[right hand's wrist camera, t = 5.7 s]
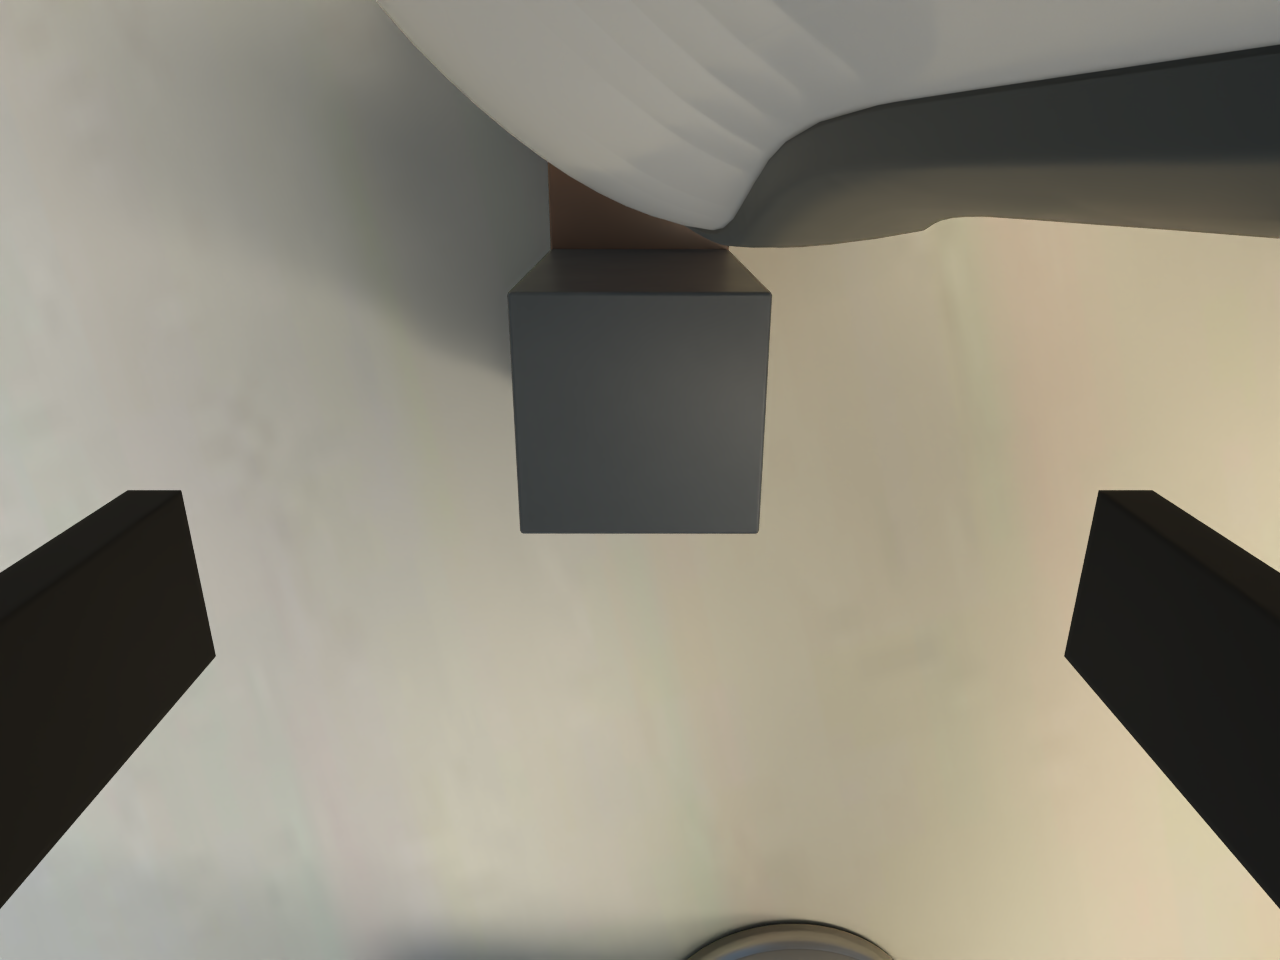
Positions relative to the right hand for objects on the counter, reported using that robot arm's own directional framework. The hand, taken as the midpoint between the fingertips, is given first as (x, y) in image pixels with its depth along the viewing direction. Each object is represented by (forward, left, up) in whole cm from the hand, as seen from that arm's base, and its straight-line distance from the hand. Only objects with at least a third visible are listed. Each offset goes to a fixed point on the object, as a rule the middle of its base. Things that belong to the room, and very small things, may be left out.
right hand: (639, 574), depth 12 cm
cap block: (0, 0, -18) cm, 18 cm away
